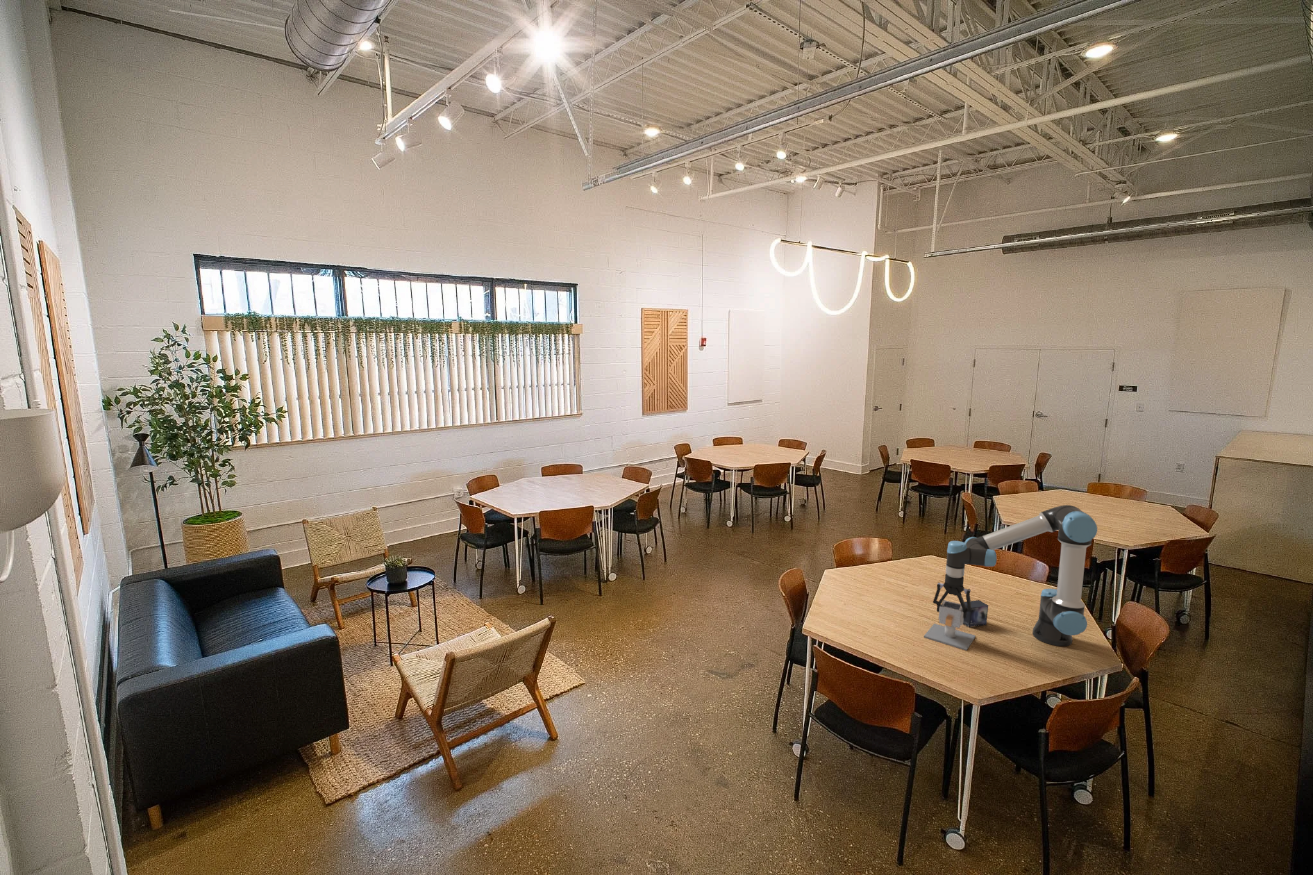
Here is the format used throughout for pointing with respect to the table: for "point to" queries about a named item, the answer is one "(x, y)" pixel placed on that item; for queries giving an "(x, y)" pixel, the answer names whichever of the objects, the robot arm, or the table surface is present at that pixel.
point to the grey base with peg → (950, 636)
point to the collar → (950, 614)
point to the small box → (976, 614)
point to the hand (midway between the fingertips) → (950, 621)
